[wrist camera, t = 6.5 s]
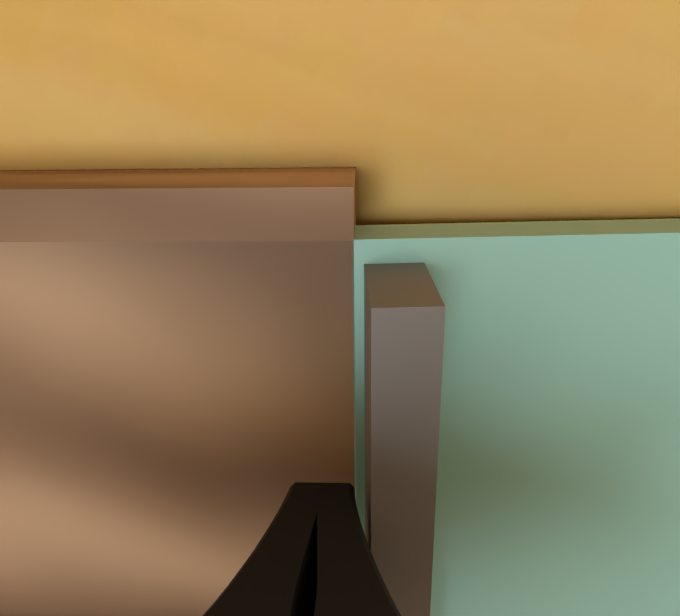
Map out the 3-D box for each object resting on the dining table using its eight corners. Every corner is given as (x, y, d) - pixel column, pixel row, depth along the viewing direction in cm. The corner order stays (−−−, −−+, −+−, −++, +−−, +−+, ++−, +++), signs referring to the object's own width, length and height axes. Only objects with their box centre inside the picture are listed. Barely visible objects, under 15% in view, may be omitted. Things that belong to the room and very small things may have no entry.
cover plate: (814, 595, 17) (933, 725, 13) (356, 606, 17) (362, 739, 13) (954, 212, 13) (1174, 261, 9) (352, 225, 13) (358, 278, 9)
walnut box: (358, 635, 18) (356, 715, 16) (-118, 623, 19) (-185, 697, 16) (356, 167, 13) (353, 186, 11) (-301, 173, 14) (-432, 192, 11)
